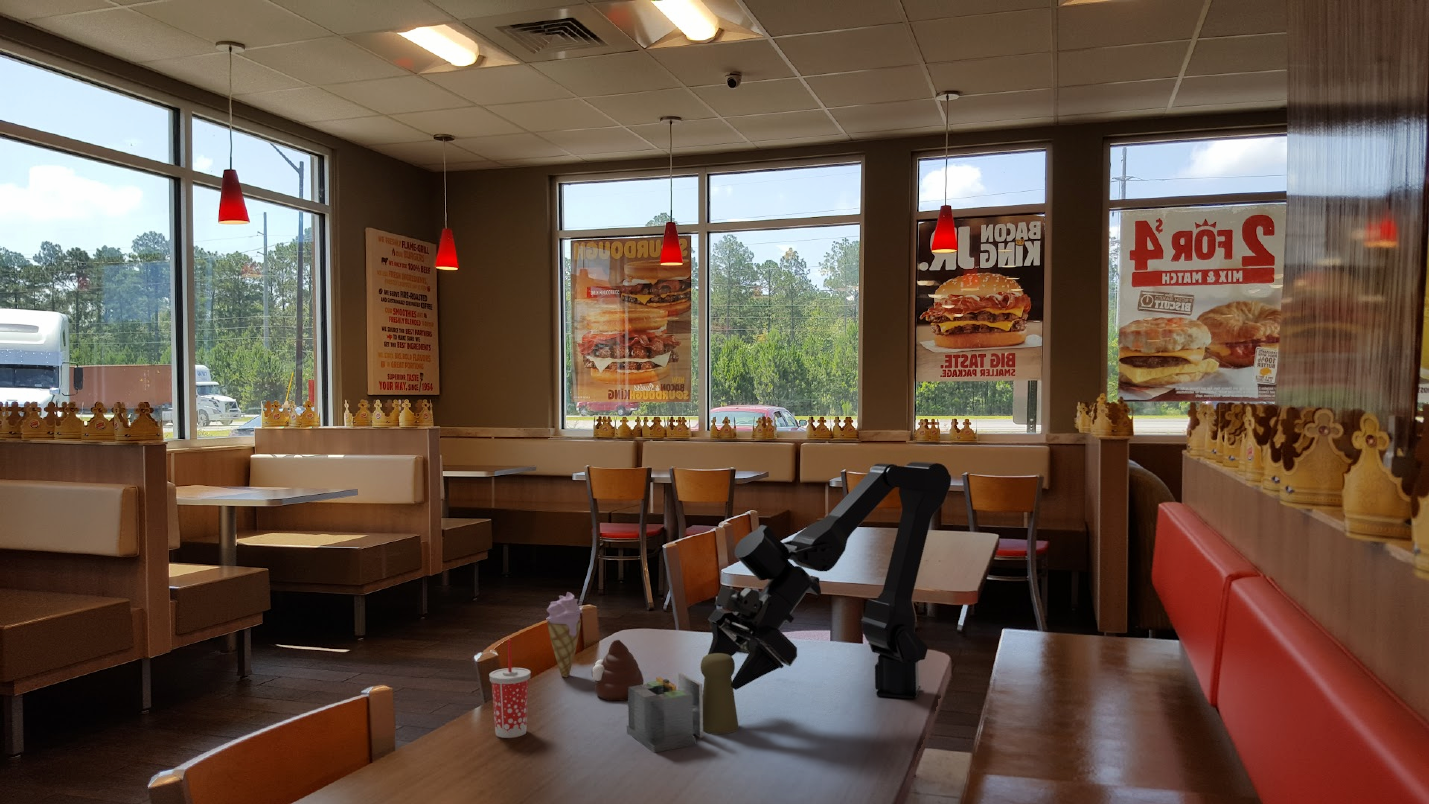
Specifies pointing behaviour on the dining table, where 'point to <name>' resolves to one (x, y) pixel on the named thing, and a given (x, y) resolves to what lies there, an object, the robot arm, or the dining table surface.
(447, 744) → the dining table surface
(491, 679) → the beverage cup
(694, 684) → the plunger
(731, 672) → the cork
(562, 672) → the ice cream cone
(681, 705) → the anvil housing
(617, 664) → the poop emoji
